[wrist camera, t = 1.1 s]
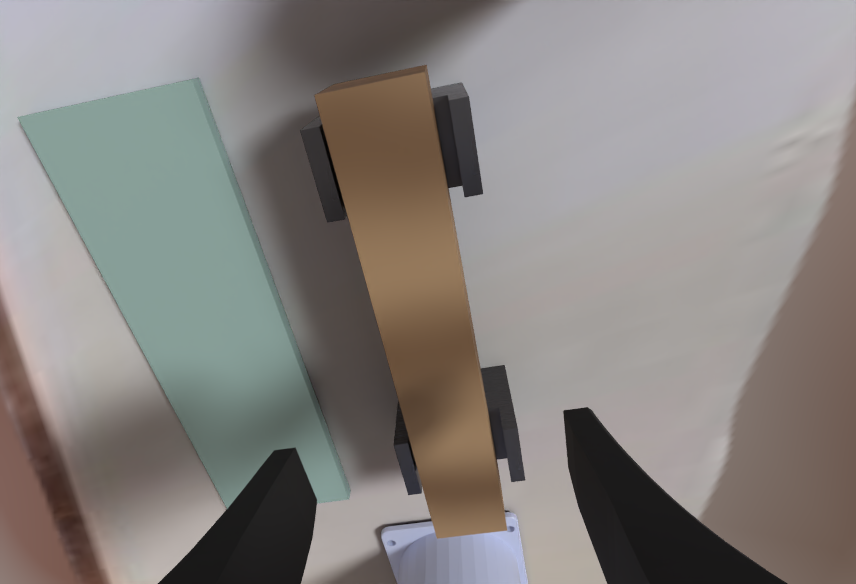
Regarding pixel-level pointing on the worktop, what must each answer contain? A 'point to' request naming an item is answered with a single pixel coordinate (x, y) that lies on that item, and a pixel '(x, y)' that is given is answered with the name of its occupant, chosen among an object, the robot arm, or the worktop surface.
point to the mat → (189, 277)
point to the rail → (417, 287)
